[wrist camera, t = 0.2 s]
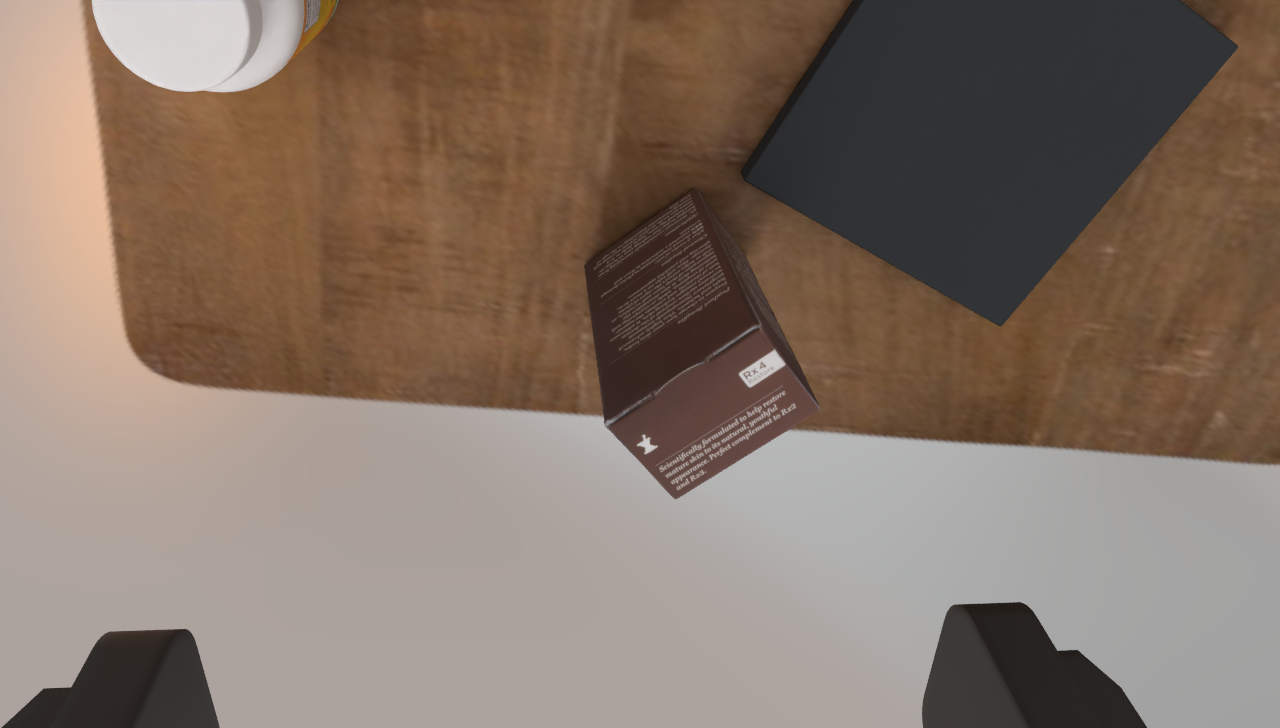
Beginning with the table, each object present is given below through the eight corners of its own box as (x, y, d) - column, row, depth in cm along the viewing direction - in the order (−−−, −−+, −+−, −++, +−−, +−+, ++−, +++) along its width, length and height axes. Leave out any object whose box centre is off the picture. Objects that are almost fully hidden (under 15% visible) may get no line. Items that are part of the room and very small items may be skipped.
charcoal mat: (960, -165, 33) (971, -165, 32) (1224, 41, 37) (1239, 46, 37) (739, 172, 39) (744, 180, 38) (992, 317, 43) (1001, 327, 42)
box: (642, 337, 42) (672, 507, 32) (581, 263, 40) (592, 419, 30) (756, 261, 41) (827, 414, 30) (699, 180, 39) (755, 315, 28)
